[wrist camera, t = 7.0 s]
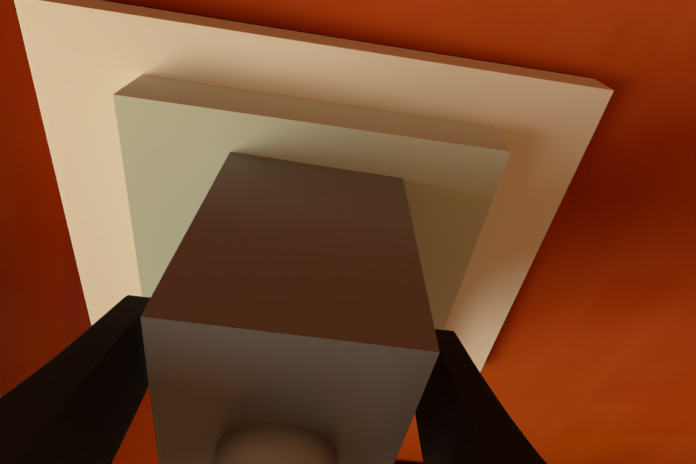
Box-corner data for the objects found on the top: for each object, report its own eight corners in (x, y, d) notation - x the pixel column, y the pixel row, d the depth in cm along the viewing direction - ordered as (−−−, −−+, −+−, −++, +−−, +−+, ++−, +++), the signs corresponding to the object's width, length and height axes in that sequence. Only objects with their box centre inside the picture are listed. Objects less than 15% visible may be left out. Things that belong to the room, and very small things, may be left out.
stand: (467, 363, 21) (483, 423, 18) (109, 326, 19) (74, 384, 17) (594, 78, 14) (649, 112, 11) (40, -10, 12) (-39, 5, 10)
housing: (402, 178, 12) (449, 396, 6) (357, 353, 16) (360, 585, 10) (230, 151, 12) (116, 358, 6) (225, 337, 16) (154, 570, 10)
